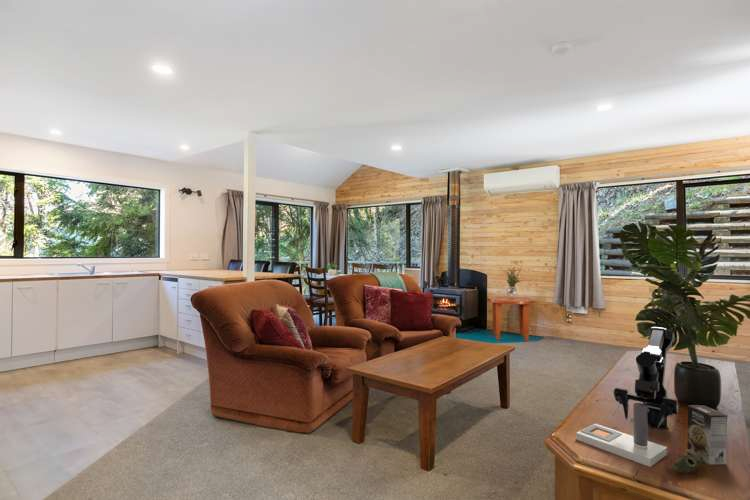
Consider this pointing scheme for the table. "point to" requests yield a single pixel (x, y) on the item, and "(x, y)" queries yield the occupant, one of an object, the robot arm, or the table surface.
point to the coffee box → (707, 434)
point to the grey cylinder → (640, 426)
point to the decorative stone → (687, 464)
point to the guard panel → (622, 445)
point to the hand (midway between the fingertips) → (641, 422)
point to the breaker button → (601, 433)
